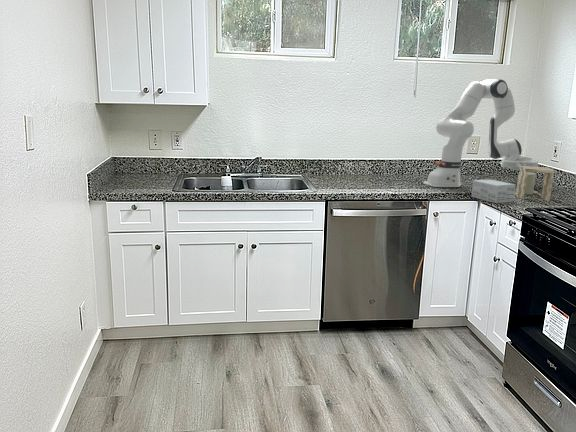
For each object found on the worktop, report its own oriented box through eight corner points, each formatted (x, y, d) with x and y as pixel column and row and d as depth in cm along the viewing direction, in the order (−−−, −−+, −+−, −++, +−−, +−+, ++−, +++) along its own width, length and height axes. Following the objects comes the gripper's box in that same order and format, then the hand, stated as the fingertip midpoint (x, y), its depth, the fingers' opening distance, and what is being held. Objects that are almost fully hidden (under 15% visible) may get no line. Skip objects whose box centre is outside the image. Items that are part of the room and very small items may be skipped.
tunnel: (509, 190, 293) (513, 162, 289) (534, 192, 291) (539, 163, 287) (521, 199, 269) (526, 168, 265) (549, 201, 267) (554, 170, 263)
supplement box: (514, 202, 264) (516, 184, 261) (495, 203, 258) (497, 185, 256) (489, 195, 278) (491, 178, 276) (470, 196, 273) (473, 179, 271)
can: (512, 191, 292) (515, 170, 289) (527, 191, 292) (530, 171, 290) (520, 194, 283) (523, 173, 280) (536, 194, 284) (539, 173, 281)
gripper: (498, 157, 309) (504, 160, 296) (534, 158, 306) (541, 161, 293) (497, 167, 311) (503, 170, 297) (532, 168, 308) (540, 172, 294)
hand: (522, 166), depth 295 cm, fingers closed
